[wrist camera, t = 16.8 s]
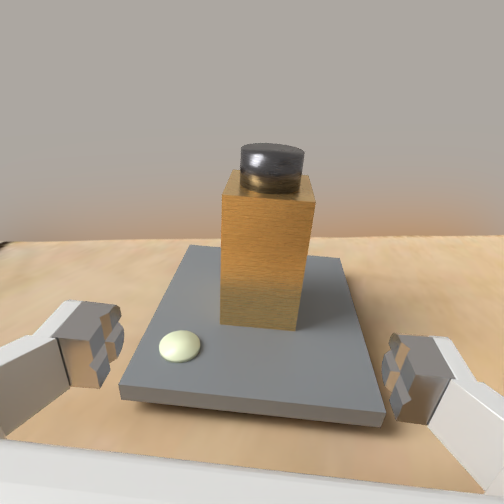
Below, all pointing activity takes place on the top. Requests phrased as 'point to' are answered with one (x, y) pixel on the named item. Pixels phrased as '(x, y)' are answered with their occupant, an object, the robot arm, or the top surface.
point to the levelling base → (256, 351)
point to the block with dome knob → (265, 238)
